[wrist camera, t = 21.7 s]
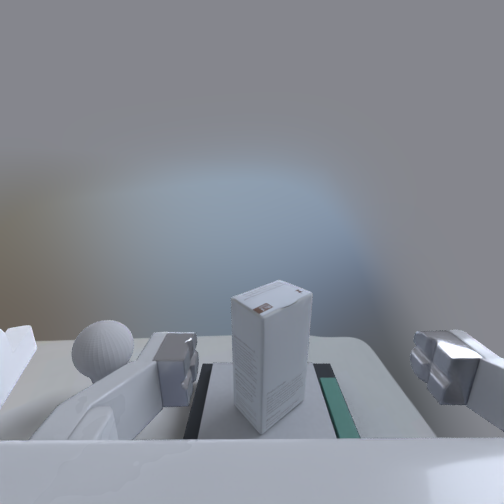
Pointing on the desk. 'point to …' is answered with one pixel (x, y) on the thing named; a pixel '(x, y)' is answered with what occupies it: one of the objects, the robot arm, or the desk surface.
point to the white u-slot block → (14, 357)
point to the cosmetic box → (270, 351)
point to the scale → (288, 427)
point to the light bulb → (102, 349)
